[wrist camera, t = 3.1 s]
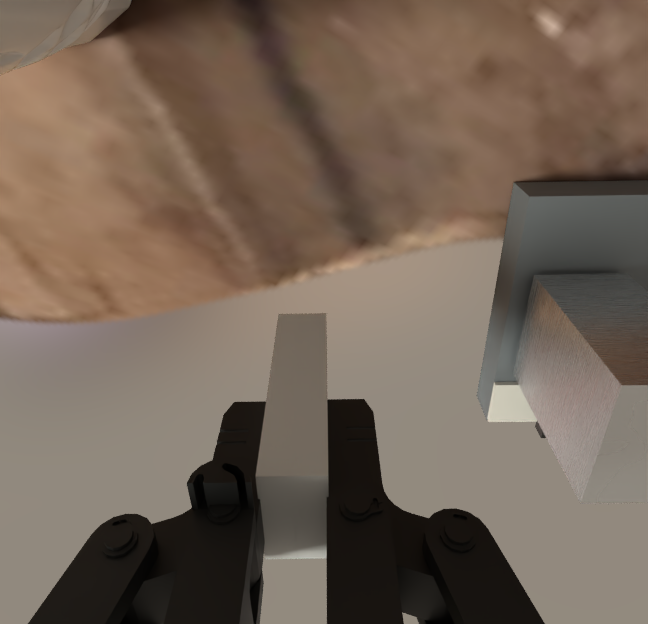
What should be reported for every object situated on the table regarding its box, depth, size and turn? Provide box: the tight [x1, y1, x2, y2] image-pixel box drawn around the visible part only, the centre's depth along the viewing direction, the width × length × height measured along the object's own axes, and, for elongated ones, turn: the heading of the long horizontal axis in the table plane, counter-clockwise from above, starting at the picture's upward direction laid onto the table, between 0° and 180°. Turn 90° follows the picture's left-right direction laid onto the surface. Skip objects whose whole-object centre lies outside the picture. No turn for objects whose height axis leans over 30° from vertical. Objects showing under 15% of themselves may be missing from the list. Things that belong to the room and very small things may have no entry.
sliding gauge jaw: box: [513, 273, 648, 504], centre depth 16 cm, size 3×6×6 cm, turn 1°
